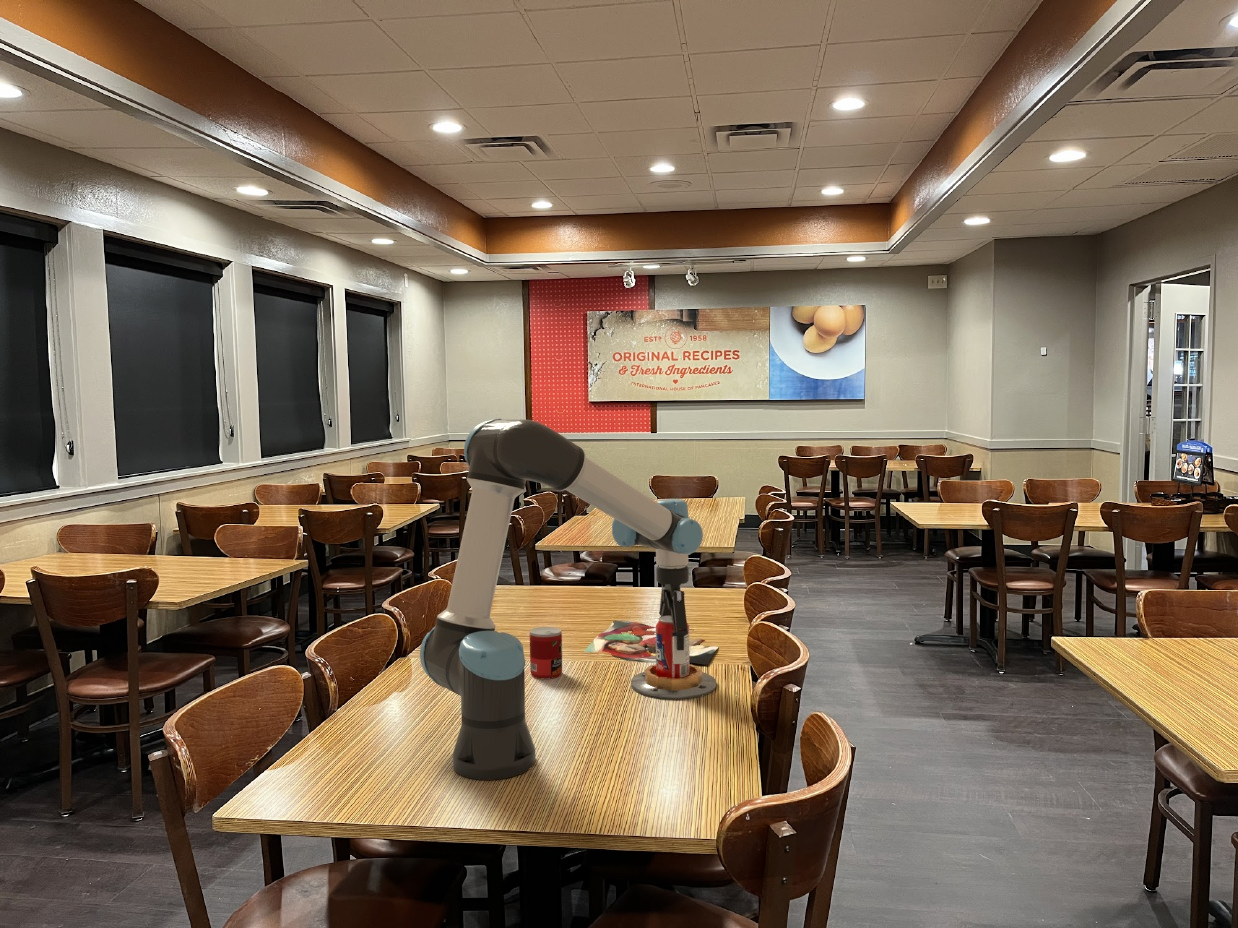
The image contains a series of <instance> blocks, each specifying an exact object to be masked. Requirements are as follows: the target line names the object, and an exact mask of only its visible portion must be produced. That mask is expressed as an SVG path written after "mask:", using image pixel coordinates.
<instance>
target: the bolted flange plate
mask: <svg viewBox="0 0 1238 928" xmlns="http://www.w3.org/2000/svg"><path fill="white" fill-rule="evenodd" d="M716 681H717V680H716V678H715V677H713V676H712V675H711V674H709V673H706V672H703V671H702V669H701V668H700V667H699V666H697V665H694V664H692V663H691V664H690V676H688V677H682V678H667V677H659V676H656V663H654V664H652V665H651V664H650V665H648V667H647V668H644V671H642V672H639V673H637V674H635V675H633V677H632V678H631V679H630V687H631V689H632V690H633V691H634V692H636V693H638V694H640V695H641V696H645V697H648V698H653V697H654V698H653V699H661V700H688V699H689V700H690V699H697V698H700V697H703V696H706V695H708V694H711V693H712V692H714V691H715V689H716V688H717V682H716Z"/></svg>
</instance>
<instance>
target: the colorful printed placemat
mask: <svg viewBox="0 0 1238 928" xmlns="http://www.w3.org/2000/svg"><path fill="white" fill-rule="evenodd" d="M647 629H648V630H647ZM652 629H656V626H651V625H648V624H645V623H642V622H641V623H640V622H636V621H628V620H627V621H625V620H613V621H612V622H611V624H610V625H609V626H608V628H606V630H605V631H603V632H601V633H598V635H597V636H595V637H594V639H593V640H592V641H591V642H590V644H588V646H587V647H586V648H585V650H584V651H583V652H584V653H599V652H600V653H608V654H611V655H610V656H612V657H614V658H616V659H619V658H620V659H619V660H624V661H627V662H629V661H630V662H631V661H638V662H645V663H654V664H656V630H652ZM628 631H632V632H631V633H629V632H628ZM689 631H693V629H690V628H689ZM621 632H626V633H623V634H622V633H621ZM633 634H634V635H633ZM644 636H653V637H649V638H646V639H644V640H643V637H644ZM704 642H706V640H705V639H701V638H694V639H691V640H689V657H690V663H691V664H699V665H704V666H706V665H707V666H708V665H709V663H710V661H711V660H712V658H713V656H714V654H715V653H716V650H718V648H719V646H715V645H714V646H712V645H709V646H708V645H705V644H702V643H704ZM628 660H629V661H628Z"/></svg>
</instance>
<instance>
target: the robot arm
mask: <svg viewBox="0 0 1238 928" xmlns="http://www.w3.org/2000/svg"><path fill="white" fill-rule="evenodd" d="M463 455H464V459H465V462H466V463H467V466H468V473H467V477H466V481H467V483H468V484H469V486H470V487H471V490H472V491H471V496H470V500H469V504H468V510H467V513H466V518H465V524H464V529H463V532H462V538H461V541H460V547H459V551H458V557H457V560H456V565H455V571H454V574H453V579H452V584H451V587H450V592H449V593H450V594H449V598H448V603H447V607H446V609H444V610H442V611H441V612H440V613H439V614H437V617H436V621H435V626H434V627H432V628H431V630H430V631H429V632H427V633H426V635H425V636H424V638H423V639H422V642H421V644H420V650H419V659H420V664H421V668H422V669H423V671H424V673H425V674H426V675H427V676H428V677H429V678H430V679H431V680H432V681H433V682H434V683H435V684H437V685H438V686H439V687H442V688H445V689H447V690H449V691H450V692H452V693H454V694H456V695H458V696H460V701H461V702H460V706H461V707H460V711H461V724H460V728H459V732H458V736H457V739H456V742H455V746H454V748H453V753H452V768H453V771H454V772H455V773H456V774H458V775H460V776H462V777H465V778H467V779H473V780H480V781H482V780H484V781H491V780H502V779H507V778H508V779H509V778H512V777H515V776H518V775H521V774H523V773H525V772H528V771H529V770H530V769H531V768H533V766H535V764H536V748H535V743H534V741H533V738H532V735H531V733H530V730H529V727H528V725H527V724H528V723H527V721H526V701H525V700H526V693H525V692H526V691H525V689H526V687H525V680H526V679H525V678H526V677H525V666H526V658H525V653H524V646H523V643H522V642H521V640H520V639H519V638H518V637H516V636H515V635H512V634H510V633H508V632H502V631H501V632H498V631H496V624H495V623H494V621H493V619H492V618H491V612H492V607H493V604H494V599H495V598H494V597H495V593H496V590H497V586H498V585H497V584H498V579H499V574H500V570H501V566H502V565H501V564H502V560H503V555H504V551H505V546H506V540H507V537H508V532H509V528H510V527H509V526H510V522H511V519H512V513H513V512H512V511H513V508H514V503H515V499H516V498H517V497H518V496H520V495H521V494H522V493H523V494H524V491H525V487H526V482H527V481H530V482H535V483H538V484H539V483H540V484H542V485H545V486H547V487H550V488H551V489H553V490H554V491H557V492H563V491H567V492H568V493H570V494H572V495H574V496H575V497H577V498H579V499H580V500H582V501H583V502H585V503H587V504H589V505H590V506H592V507H594V508H596V509H598V510H599V511H601V512H602V513H603V514H605V515H608V516H610V517H611V518H613V521H612V524H611V534H612V538H613V540H614V542H615V544H617V545H618V546H620V547H622V548H625V547H630V548H633V547H638V546H639V547H646V548H652V549H655V562H656V563H655V564H656V565H657V567H656V582H657V583H658V584H661V593H660V601H659V611H658V614H659V616H660V617H662V616H669V615H672V621H673V628H674V632H672V635H671V636H673V663H674V664H684V663H686V641H685V636H686V635H688V629H687V623H688V622H687V613H686V611H687V610H686V602H685V601H686V600H685V595H686V594H685V591H683V590H681V585H684V584H686V583H688V582H689V580H690V577H689V575H690V574H689V573H690V571H689V568H690V567H688V564H689V555H691V554H693V553H695V552H697V551H698V550H699V548H700V547H701V544H702V542H703V538H704V537H703V536H704V533H703V532H704V531H703V528H702V526H701V524H700V523H699V522H698V521H697V520H695V519H692V518H689V507H688V503H687V501H686V500H684V499H679V498H666V499H658V500H657V501H655V500H654V499H652V498H650V497H649V496H648V495H646V494H644V493H643V492H641V491H639V490H638V489H637V488H635V487H633V486H632V485H630V484H629V483H627V482H626V481H624V480H622V479H621V478H619V477H617V476H616V475H614V474H613V473H611V472H610V471H608V470H607V469H606V468H604V467H602V466H601V465H598V463H596V462H594V461H592V460H591V459H589V458H588V457H587V456H586V453H585V450H584V449H583V448H582V447H580V446H579V445H577V444H575V443H574V442H573V441H571V440H570V439H568V438H566V437H565V436H564V435H562V434H560V433H559V432H557V431H555V430H554V429H552V428H551V427H548V426H547V425H545V424H542V423H541V422H538V421H536V420H531V419H511V418H510V419H509V418H495V419H491V420H486V421H482V422H481V423H479V424H478V425H476V426H475V427H473V429H472V430H470V432H469V433H468V436H467V437H466V440H465V442H464V447H463ZM679 629H682V630H679Z"/></svg>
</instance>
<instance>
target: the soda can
mask: <svg viewBox="0 0 1238 928" xmlns="http://www.w3.org/2000/svg"><path fill="white" fill-rule="evenodd" d="M655 627H656V628H655V631H656V633H655V634H656V635H655V637H656V663H655V664H656V676H659V677H667V678H682V677H688V676H690V657H689V641H690V630H689V629H690V624H689V623H688V622H687V629H688V635H686V636H685V641H686V663H684V664H674V663H673V636H671V635H672V632H674V628H673V621H672V615H669V616H662V617H661V616H660V617H659V618H658V622H657V623H656V624H655ZM679 630H682V629H679Z"/></svg>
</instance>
